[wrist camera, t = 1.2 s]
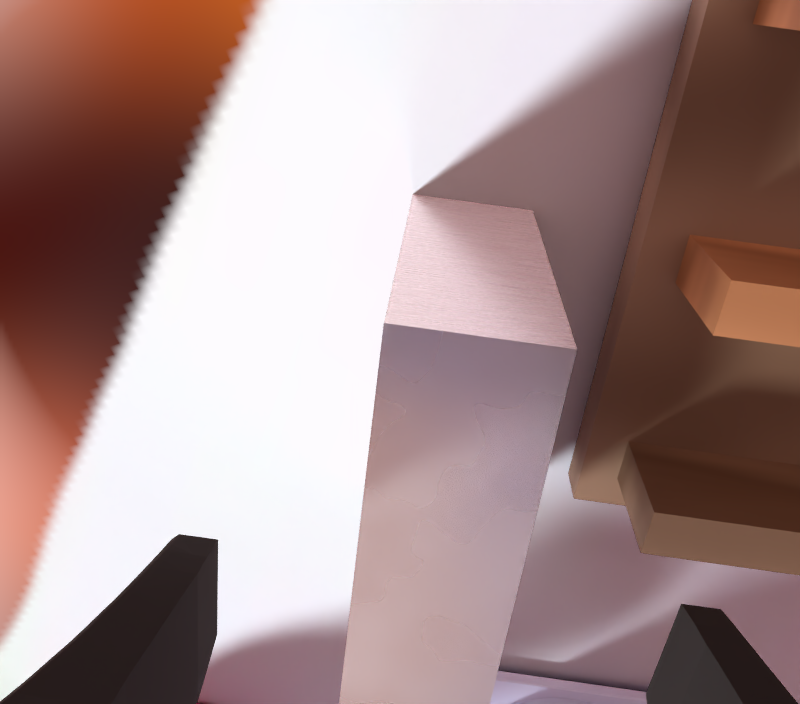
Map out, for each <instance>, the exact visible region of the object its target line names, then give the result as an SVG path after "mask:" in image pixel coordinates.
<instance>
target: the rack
mask: <svg viewBox="0 0 800 704" xmlns="http://www.w3.org/2000/svg"><path fill="white" fill-rule="evenodd" d="M568 474H569V479H570V483H571V488H572V493H573V497H574V499H581V500H588V501H595V502H602V503H610V504H617V505H624V506H626V508H627V511H628V514H629V517H630V520H631V524H632V527H633V530H634V533H635V536H636V540H637V543H638V546H639V549H640V552H641V553H645V554H652V555H659V556H666V557H673V558H680V559H687V560H694V561H701V562H708V563H716V564H723V565H730V566H737V567H744V568H751V569H758V570H765V571H772V572H779V573H786V574H794V575H800V0H692V3H691V7H690V11H689V14H688V18H687V22H686V26H685V30H684V34H683V37H682V41H681V45H680V49H679V53H678V56H677V60H676V64H675V68H674V72H673V76H672V79H671V83H670V87H669V91H668V95H667V98H666V102H665V106H664V110H663V114H662V118H661V121H660V125H659V129H658V133H657V137H656V140H655V144H654V148H653V152H652V156H651V160H650V163H649V167H648V171H647V175H646V179H645V182H644V186H643V190H642V194H641V198H640V202H639V205H638V209H637V213H636V217H635V221H634V224H633V228H632V232H631V236H630V240H629V243H628V247H627V251H626V255H625V259H624V263H623V266H622V270H621V274H620V278H619V282H618V285H617V289H616V293H615V297H614V301H613V305H612V308H611V312H610V316H609V320H608V324H607V327H606V331H605V335H604V339H603V343H602V347H601V350H600V354H599V358H598V362H597V366H596V369H595V373H594V377H593V381H592V385H591V389H590V392H589V396H588V400H587V404H586V408H585V411H584V415H583V419H582V423H581V427H580V431H579V434H578V438H577V442H576V446H575V450H574V453H573V457H572V461H571V465H570V469H569V472H568Z"/></svg>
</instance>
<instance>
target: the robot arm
mask: <svg viewBox="0 0 800 704" xmlns="http://www.w3.org/2000/svg"><path fill="white" fill-rule="evenodd" d="M217 581H218V540H216V539H209V538H202V537H195V536H187V535H180V534H179V535H177V536H176V537H174V538H173V539H172V540H171V541H170V542H169V543H168V544H167V545H166V546H165V547H164V548H163V550H162V551H161V552H160V553H159V554H158V555H157V556H156V557H155V558H154V559H153V560H152V561H151V562H150V564H149V565H148V566H147V567H146V568H145V569H144V570H143V571H142V572H141V573H140V574H139V575H138V576H137V577H136V578H135V579H134V580H133V581H132V582H131V583H130V584H129V585H128V586H127V587H126V588H125V590H124V591H123V592H122V593H121V594H120V595H119V596H118V597H117V598H116V599H115V600H114V601H113V602H112V603H110V604H109V605H108V606H107V607H106V608H105V609H104V610H103V611H102V612H101V613H100V614H99V615H98V616H97V617H96V618H95V619H94V620H93V621H92V622H91V623H90V624H89V625H88V626H87V627H86V628H84V629H83V630H82V631H81V632H80V633H79V634H78V635H77V636H76V637H75V638H74V639H73V640H72V641H71V642H69V643H68V644H67V645H66V646H65V647H64V648H63V649H61V650H60V651H59V652H58V653H57V654H56V655H55V656H53V657H52V658H51V659H50V660H49V661H48V662H47V663H45V664H44V665H43V666H42V667H41V668H40V669H39V670H37V671H36V672H35V673H34V674H33V675H32V676H31V677H29V678H28V679H27V680H26V681H25V682H24V683H22V684H21V685H20V686H19V687H18V688H16V689H15V690H14V691H13V692H11V693H10V694H9V695H8V696H7V697H5V698H4V699H3V700H2V701H0V704H196V703H197V701H198V698H199V695H200V691H201V688H202V685H203V681H204V678H205V675H206V671H207V668H208V664H209V661H210V657H211V654H212V650H213V647H214V643H215V640H216V636H217ZM490 704H798V703H797V702H796V700H795V699H794V698H793V697H792V696H791V694H790V693H789V692H788V691H787V690H786V688H785V687H784V686H783V685H782V683H781V682H780V681H779V680H778V679H777V677H776V676H775V675H774V674H773V672H772V671H771V670H770V669H769V668H768V666H767V665H766V664H765V663H764V661H763V660H762V659H761V658H760V656H759V655H758V654H757V653H756V651H755V650H754V649H753V648H752V647H751V645H750V644H749V643H748V642H747V640H746V639H745V638H744V637H743V635H742V634H741V633H740V632H739V630H738V629H737V628H736V627H735V626H734V624H733V623H732V622H731V621H730V620H729V618H728V617H727V616H726V615H725V614H724V612H723V611H722V610H721V609H714V608H707V607H700V606H693V605H685V604H681V606H680V609H679V611H678V614H677V616H676V619H675V621H674V624H673V626H672V629H671V632H670V634H669V637H668V639H667V642H666V644H665V647H664V649H663V652H662V654H661V657H660V660H659V662H658V665H657V667H656V670H655V672H654V675H653V677H652V680H651V682H650V685H649V687H648V690H647V692H642V691H635V690H628V689H621V688H615V687H608V686H601V685H594V684H587V683H580V682H573V681H566V680H559V679H552V678H545V677H538V676H531V675H524V674H517V673H510V672H503V671H498V673H497V677H496V681H495V685H494V689H493V693H492V697H491V701H490Z"/></svg>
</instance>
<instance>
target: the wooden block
mask: <svg viewBox="0 0 800 704" xmlns="http://www.w3.org/2000/svg"><path fill="white" fill-rule="evenodd" d="M576 353H577V347H576V344H575V341H574V337H573V334H572V331H571V328H570V325H569V322H568V319H567V316H566V313H565V309H564V306H563V303H562V300H561V297H560V294H559V291H558V288H557V284H556V281H555V278H554V275H553V272H552V269H551V266H550V263H549V259H548V256H547V253H546V250H545V247H544V244H543V241H542V238H541V235H540V231H539V228H538V225H537V222H536V219H535V216H534V213H533V210H527V209H519V208H512V207H505V206H497V205H490V204H482V203H475V202H468V201H460V200H453V199H445V198H438V197H431V196H423V195H416V194H413V195H412V200H411V204H410V209H409V213H408V218H407V222H406V227H405V231H404V236H403V240H402V245H401V249H400V253H399V258H398V262H397V267H396V271H395V276H394V280H393V285H392V289H391V294H390V298H389V303H388V307H387V312H386V316H385V321H384V327H383V335H382V344H381V352H380V361H379V369H378V378H377V386H376V395H375V403H374V412H373V420H372V428H371V437H370V445H369V454H368V462H367V471H366V479H365V488H364V496H363V505H362V513H361V521H360V530H359V538H358V547H357V555H356V564H355V572H354V581H353V589H352V597H351V606H350V614H349V623H348V631H347V640H346V648H345V657H344V665H343V674H342V682H341V690H340V699H339V704H490V701H491V697H492V693H493V689H494V685H495V681H496V677H497V673H498V669H499V665H500V661H501V657H502V653H503V649H504V645H505V641H506V636H507V632H508V628H509V624H510V620H511V616H512V612H513V608H514V604H515V600H516V596H517V592H518V588H519V584H520V580H521V576H522V572H523V568H524V563H525V559H526V555H527V551H528V547H529V543H530V539H531V535H532V531H533V527H534V523H535V519H536V515H537V511H538V507H539V503H540V499H541V495H542V490H543V486H544V482H545V478H546V474H547V470H548V466H549V462H550V458H551V454H552V450H553V446H554V442H555V438H556V434H557V430H558V426H559V422H560V418H561V413H562V409H563V405H564V401H565V397H566V393H567V389H568V385H569V381H570V377H571V373H572V369H573V365H574V361H575V357H576Z"/></svg>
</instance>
